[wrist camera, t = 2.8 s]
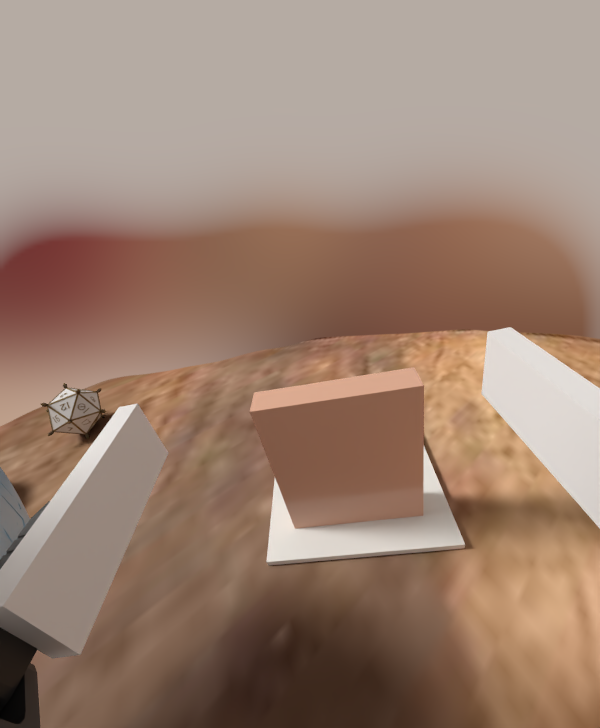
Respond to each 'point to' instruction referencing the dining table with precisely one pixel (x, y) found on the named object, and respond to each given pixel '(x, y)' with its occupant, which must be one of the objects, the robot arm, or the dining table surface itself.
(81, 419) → the game die
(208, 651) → the dining table surface
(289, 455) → the terracotta tile
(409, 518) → the rubber mat
